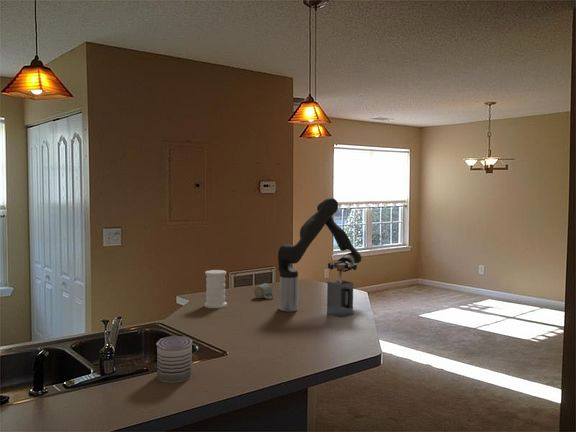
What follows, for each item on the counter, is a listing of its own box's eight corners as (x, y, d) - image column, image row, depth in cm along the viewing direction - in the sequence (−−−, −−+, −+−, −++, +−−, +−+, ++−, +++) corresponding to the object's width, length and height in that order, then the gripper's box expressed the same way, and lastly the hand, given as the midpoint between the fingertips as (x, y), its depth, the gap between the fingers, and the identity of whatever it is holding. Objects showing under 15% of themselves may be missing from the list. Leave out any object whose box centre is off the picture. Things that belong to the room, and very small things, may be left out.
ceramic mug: (252, 298, 287) (253, 284, 286) (261, 295, 294) (261, 282, 293) (268, 300, 281) (268, 287, 280) (276, 298, 288) (276, 284, 287)
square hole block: (326, 313, 254) (327, 281, 253) (339, 311, 259) (340, 279, 258) (344, 318, 244) (344, 285, 243) (357, 315, 250) (357, 283, 249)
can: (194, 370, 175) (194, 335, 174) (189, 383, 163) (189, 346, 163) (161, 370, 174) (160, 335, 174) (153, 383, 163) (153, 346, 162)
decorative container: (229, 307, 265) (229, 272, 264) (207, 308, 261) (207, 274, 260) (223, 302, 276) (223, 269, 275) (202, 304, 271) (202, 270, 270)
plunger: (330, 304, 253) (331, 264, 252) (340, 303, 257) (340, 263, 256) (339, 307, 248) (340, 265, 247) (349, 305, 252) (350, 264, 251)
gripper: (332, 255, 267) (325, 259, 251) (359, 256, 263) (354, 261, 247) (332, 269, 267) (325, 274, 252) (359, 271, 263) (354, 276, 248)
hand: (339, 268), depth 250 cm, fingers open, 8 cm apart
